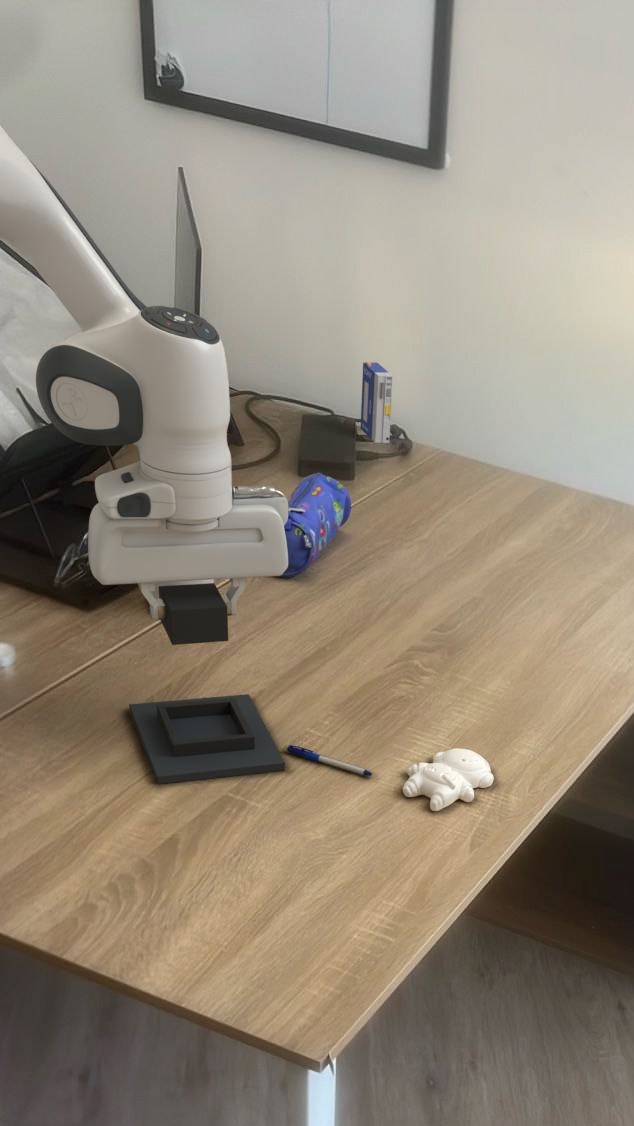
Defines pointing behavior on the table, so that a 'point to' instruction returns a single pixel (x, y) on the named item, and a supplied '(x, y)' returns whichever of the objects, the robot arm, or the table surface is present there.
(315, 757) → the ballpoint pen
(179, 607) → the black box
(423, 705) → the table surface
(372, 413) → the walkman
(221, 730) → the socket base plate
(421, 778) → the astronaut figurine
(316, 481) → the pencil case
